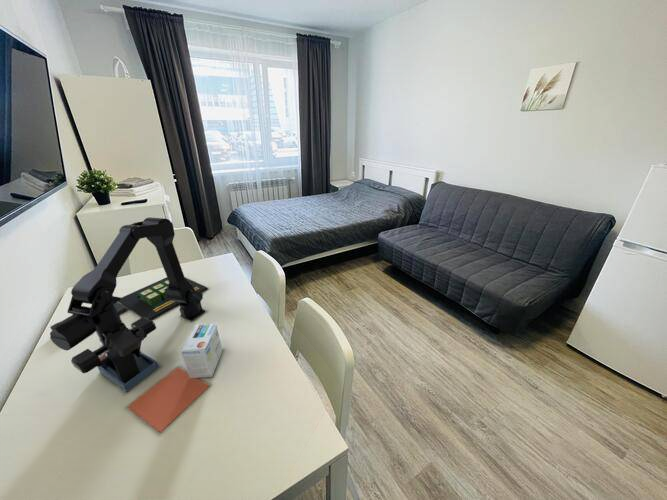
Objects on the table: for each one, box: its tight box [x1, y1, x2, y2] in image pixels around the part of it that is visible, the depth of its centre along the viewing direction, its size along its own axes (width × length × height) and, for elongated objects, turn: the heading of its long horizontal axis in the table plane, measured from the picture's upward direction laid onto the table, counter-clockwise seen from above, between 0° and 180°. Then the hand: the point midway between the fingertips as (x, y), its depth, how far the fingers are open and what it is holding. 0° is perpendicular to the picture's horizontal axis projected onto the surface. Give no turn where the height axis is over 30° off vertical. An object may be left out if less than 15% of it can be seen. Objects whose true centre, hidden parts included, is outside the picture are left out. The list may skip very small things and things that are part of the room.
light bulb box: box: [180, 323, 223, 379], centre depth 80 cm, size 11×7×11 cm, turn 5°
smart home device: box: [114, 302, 128, 316], centre depth 100 cm, size 8×2×20 cm
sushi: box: [117, 276, 209, 321], centre depth 115 cm, size 25×25×4 cm
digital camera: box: [106, 349, 140, 383], centre depth 79 cm, size 10×5×7 cm, turn 52°
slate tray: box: [97, 351, 160, 393], centre depth 80 cm, size 9×14×2 cm, turn 62°
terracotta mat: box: [127, 367, 210, 433], centre depth 72 cm, size 14×14×1 cm
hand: (127, 363), depth 79 cm, fingers closed on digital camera, 5 cm apart
